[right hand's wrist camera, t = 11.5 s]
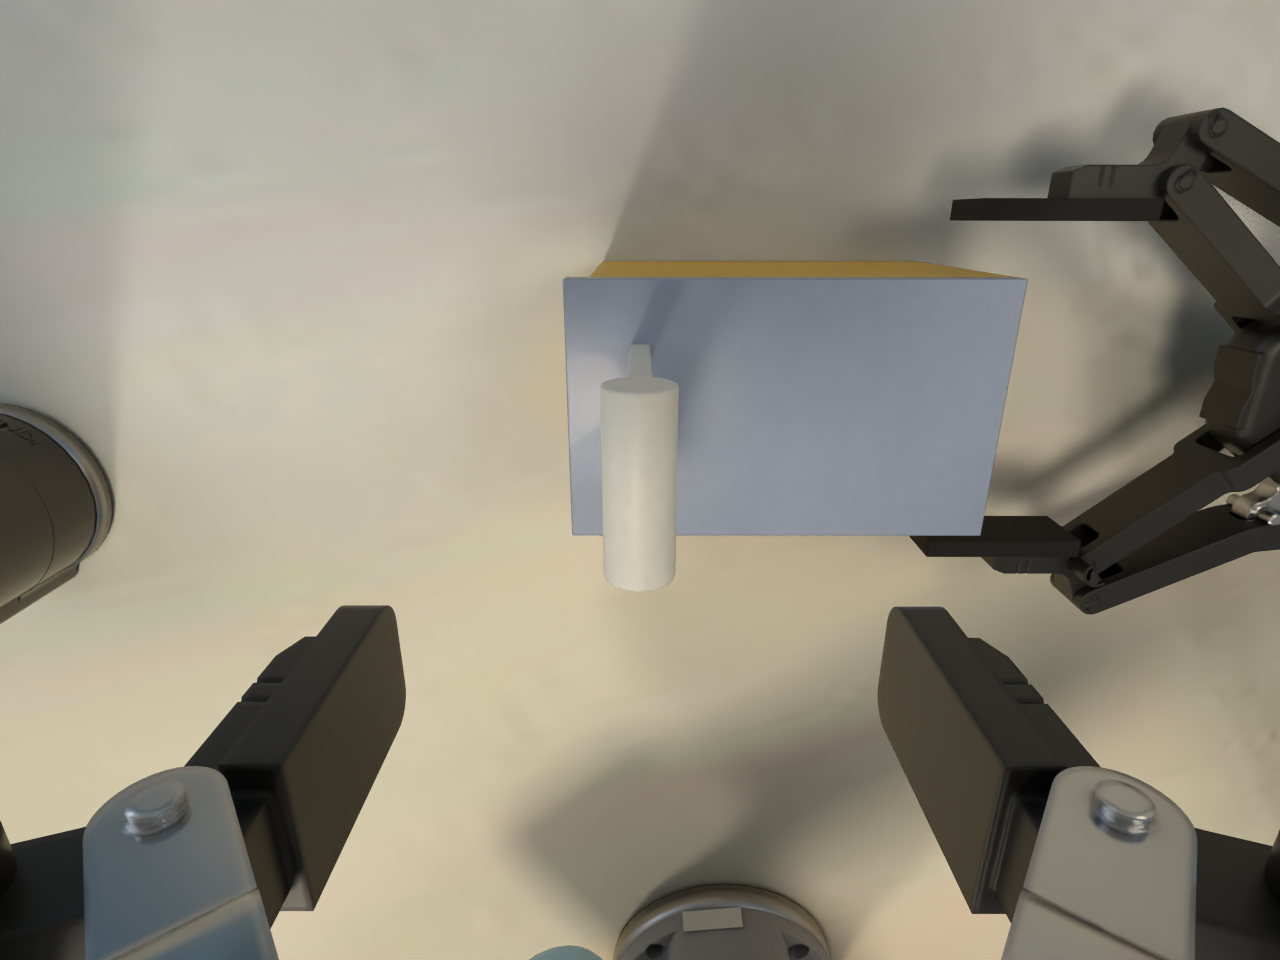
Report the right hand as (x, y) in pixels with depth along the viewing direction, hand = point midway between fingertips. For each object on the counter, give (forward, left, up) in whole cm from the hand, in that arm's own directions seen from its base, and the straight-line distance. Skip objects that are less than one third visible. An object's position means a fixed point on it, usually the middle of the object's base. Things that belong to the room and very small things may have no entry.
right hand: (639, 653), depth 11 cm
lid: (+2, -5, -16) cm, 17 cm away
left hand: (+4, -12, -19) cm, 23 cm away
